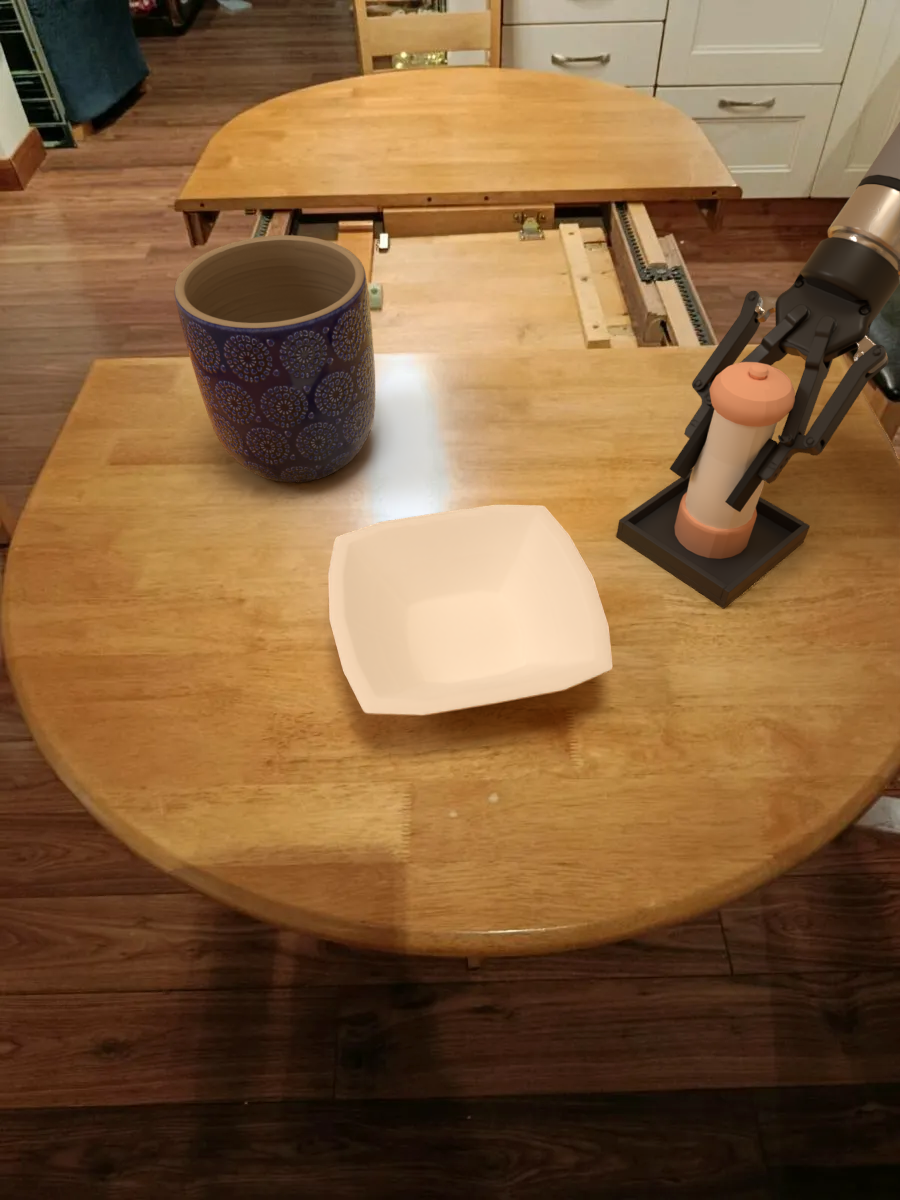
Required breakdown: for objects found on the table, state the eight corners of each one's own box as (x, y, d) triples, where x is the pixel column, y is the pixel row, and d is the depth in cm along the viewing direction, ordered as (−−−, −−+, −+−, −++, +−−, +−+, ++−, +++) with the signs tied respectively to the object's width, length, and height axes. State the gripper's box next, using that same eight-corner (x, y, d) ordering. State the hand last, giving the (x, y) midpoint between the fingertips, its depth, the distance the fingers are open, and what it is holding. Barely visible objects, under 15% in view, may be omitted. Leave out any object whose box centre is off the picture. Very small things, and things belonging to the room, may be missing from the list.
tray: (803, 542, 85) (810, 525, 83) (723, 608, 79) (729, 592, 77) (696, 479, 92) (701, 462, 90) (615, 536, 86) (618, 519, 84)
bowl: (627, 717, 71) (637, 676, 67) (352, 768, 68) (345, 728, 64) (552, 536, 86) (557, 494, 82) (324, 572, 83) (316, 529, 79)
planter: (350, 516, 89) (326, 339, 73) (190, 488, 92) (135, 313, 77) (402, 414, 100) (391, 243, 85) (259, 392, 104) (223, 225, 88)
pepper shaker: (759, 525, 85) (817, 358, 71) (732, 569, 81) (788, 401, 67) (691, 499, 88) (733, 334, 74) (662, 541, 84) (701, 374, 70)
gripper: (969, 316, 71) (800, 549, 76) (778, 242, 80) (640, 454, 85) (966, 277, 64) (783, 534, 70) (760, 201, 74) (611, 433, 79)
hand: (704, 489), depth 77 cm, fingers closed on pepper shaker, 5 cm apart
